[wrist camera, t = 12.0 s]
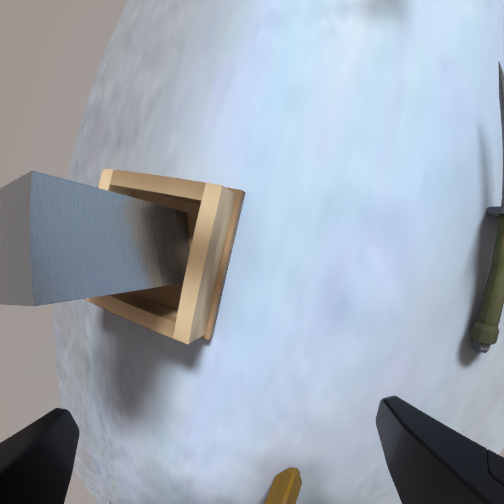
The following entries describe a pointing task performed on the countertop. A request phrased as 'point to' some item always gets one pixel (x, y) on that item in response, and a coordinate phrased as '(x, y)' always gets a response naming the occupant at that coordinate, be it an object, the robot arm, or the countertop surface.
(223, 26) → the countertop surface
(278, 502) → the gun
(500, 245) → the knife
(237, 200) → the dock
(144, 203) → the post
